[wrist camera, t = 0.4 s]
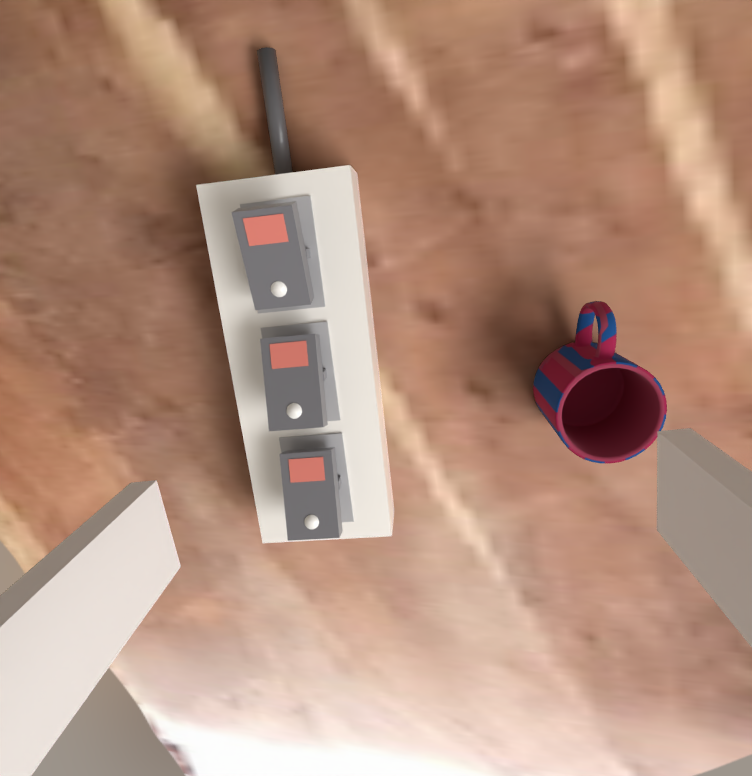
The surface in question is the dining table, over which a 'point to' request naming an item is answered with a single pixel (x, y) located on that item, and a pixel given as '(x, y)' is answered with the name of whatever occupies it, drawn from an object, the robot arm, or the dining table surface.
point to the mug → (599, 394)
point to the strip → (305, 330)
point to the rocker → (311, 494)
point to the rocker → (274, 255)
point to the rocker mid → (294, 382)
